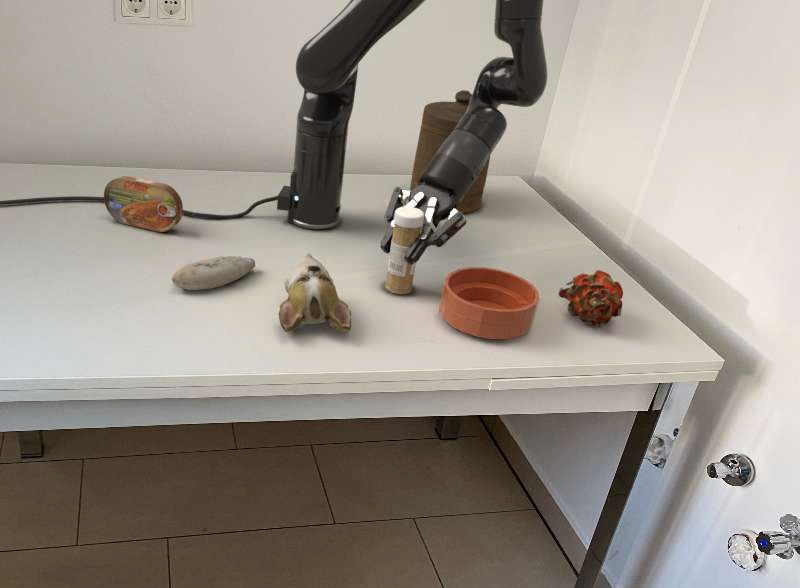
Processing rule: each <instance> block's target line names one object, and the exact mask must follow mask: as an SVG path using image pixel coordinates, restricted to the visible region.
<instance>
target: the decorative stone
mask: <svg viewBox="0 0 800 588" xmlns="http://www.w3.org/2000/svg"><path fill="white" fill-rule="evenodd" d="M255 268H256V261H255V260H254V258H251V257H243V256H237V255H227V256H226V255H225V256H224V255H223V256H218V257H217V256H216V257H210V258H205V259H202V260H197V261H194V262H190V263H187V264H184V265H182V266H180V267H179V268H177V270H176V271H175V272H174V273H173V274H172V276H171V282H172V283H173V284H174V285H175V286H176V287H178V288H181V289H183V290H189V291H203V290H210V289H215V288H219V287H221V286H225V285H228V284H230V283H232V282H234V281H236V280H239V279H241V278H242V277H244V276H246V275H247V274H249V272H250V271H253V270H254V269H255Z"/></svg>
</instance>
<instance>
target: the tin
mask: <svg viewBox="0 0 800 588" xmlns="http://www.w3.org/2000/svg"><path fill="white" fill-rule="evenodd" d="M103 197H104V201H103V203H104V206H105V208H106V210H107V212H108V214H109V216H111V217H112V219H114V220H115V221H117V222H118V223H120V224H122V225H126V226H132V227H136V228H140V229H145V230H149V231H153V232H158V233H166V232H168V231H170V230H171V229H173V228H174V227H175V226H177V225H178V224H179V223H180V222H181V220H182V218H183V215H184V214H183V210H184V208H183V206H184V205H183V200H182V198H181V196H180V195H179V193H178V192H177V190H176V189H175V188H174V187H172V186H171V185H170V184H167V183H163V182H158V181H153V180H149V179H145V178H144V179H143V178H139V177H135V176H130V175H129V176H128V175H123V176H120V177H118V178H117V177H116V178H113V179H112V180H110V181H109V182H107V184H106V186H105V187H104V190H103Z"/></svg>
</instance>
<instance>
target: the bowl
mask: <svg viewBox="0 0 800 588" xmlns="http://www.w3.org/2000/svg"><path fill="white" fill-rule="evenodd" d="M539 302H540V292H539V290H538V289H537V288H536V286H534V284H533V283H531V282H529V281H528V280H527V279H525V278H524V277H522V276H519V275H517V274H515V273H512V272H510V271H505V270H502V269H498V268H491V267H484V266H470V267H461V268H458V269H456V270H453V271H451V272H449V273H448V274H447V275H446V276H445V277H444V281H443V286H442V290H441V295H440V301H439V307H438V312H439V314H440V316H441V317H442V319H443V320H444V321H445V322H446V323H447V324H449V325H450V327H453V328H455V329H457V330H459V331H461V332H462V333H464V334H468V335H471V336H474V337H479V338H483V339H484V338H485V339H491V340H509V339H515V338H518V337H519V338H520V337H521V336H523V335H525V334H527V333H529V331H530V330H531V328H532V327H533V325H534V322H535V321H534V320H535V318H536V313H537V310H538V306H539Z"/></svg>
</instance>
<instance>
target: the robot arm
mask: <svg viewBox="0 0 800 588" xmlns="http://www.w3.org/2000/svg"><path fill="white" fill-rule="evenodd" d="M425 2H427V0H349V2H348V3H347V5H346V6H344V7H343V9H342V10H341V11H340V12H339V13H338V14H337V15H336V16H335V17H334V18H333V19H331V21H329V23H327V25H325V26H324V27H323V28H322V29H321V30H320V31H318V32H317V33H316V34H315V35H314V36H313V37H312V38H310V39H309V40H308V41H306V42H305V43H304V44H303V46H302V47H301V48H300V50H299V52H298V54H297V58H296V61H295V75H296V79H297V81H298V83H299V85H300V86H301V88H302V89H303V95H302V100H301V103H300V106H299V109H298V112H297V115H296V126H295V127H296V130H295V143H294V157H293V169H292V171H291V173H290V182H289V185H283V186H282V188H281V189H280V191H279V193H278V195H276V196H271V197H266V198H262V199H260V200H258V201H255V202H254V203H252V204H251V205H250V206H249V207H248V208H247V209H246V210H245V211H243V212H239V213H236V214H228V215H227V214H226V215H225V214H213V213H203V212H195V211H189V210H187V209H186V210H185V209H183V214H182V215H187V216H190V217H191V216H192V217H196V218H207V219H215V220H217V219H218V220H233V219H240V218H242V217H245V216H248V215H249V214H250V213H251V212H252V211H253V210H254V209H255V208H257V207H258V206H261V205H263V204H267V203H271V202H275V201H276V203H277V204H276V210H278V211H286V212H287V223H289V224H294V225H296V226H297V227H299V228H300V227H301V228H304V229H309V230H329V229H332V228H335V227H336V226H338V225H339V223H340V214H341V213H340V212H341V209H342V205H343V203H342V202H341V201H342V192H343V184H344V183H343V182H344V173H345V163H346V154H347V145H348V134H349V125H350V121H351V117H352V113H353V110H354V105H355V104H354V103H355V96H356V88H357V82H358V81H357V80H358V72H359V63H360V62H361V61H362V60H363V58H364V57H365V56H366V55H367V54H368V52H369V51H371V49H372V48H373V47H374V46H375V45H376V44H377V43H378V42H379V41H380V40H381V39H382V38H383V37H384V36H385V35H387V34H388V33H389V32H390V31H392V30H393V29H394V28H396V27H397V26H399V25H400V24H401V23H402V22H404V21H405V19H407V18H408V17H409V16H411V14H413V13H414V12H415V11H416V10H418V8H420V7H421V5H423V4H424V3H425ZM543 9H544V0H495V9H494V21H493V33H494V36H495V38H496V39H497V40H499V41H501V42H504V43H506V44H508V45H509V47H510V49H511V53H512V57H510V56H498V57H495V58H493V59H492V60H490V61H489V62H487V63H486V64H485V66H484V67H483V68H482V69H481V70H480V72H479V74H478V77H477V80H476V82H475V85H474V88H473V91H472V93H471V94H472V96H471V99H470V102H469V106H468V108H467V111H466V113H465V114H464V116H463V117H462V118H461V120H460V121H459V123H458V124H457V126H456V127H455V129H454V130H453V132H452V133H451V134H450V135H449V137H448V138H447V139H446V140H445V141H444V143H443V144H442V145H441V147H440V148H439V150H438V151H437V153H436V154H435V156H434V157H433V159H432V160H431V162H430V163H429V165H428V166H427V168H426V169H425V171H424V172H423V174H422V175H421V178H420V181H419V183H418V184H417V185H416V186H415V187H414V188H412V189H411V191H410V190H405V189H402V188H401V187H400V186H396V187H394V188H393V191H392V194H391V197H390V200H389V202H388V206H387V208H386V211H385V214H384V219H385V220H386V222H387V223H388V224H389V228H388V230H387V232H386V233H385V234H384V236H383V237H382V239H381V240H380V249H381V250H382V251H383V253H385V254H390V248H391V241H392V237H393V230H394V215H395V211H396V209H398V208H400V207H413V208H417V209H420V210H421V211H423V212H424V222H423V225H422V228H421V231H420V238H419V239H418V238H416V240H415V241H414V243H413V244H412V246H411V247H410V249H409V250H408V252H407V253H406V255H405V257H404V259H405V260H406V262H407V263H409V264H411V265H412V264H413V263H414V262H415V263H416V264H417V262H418V261H419V260H420V259H421V257H422V256H423V255H424V253H425V251H426V249H428V247H431V246H434V247H436V248H441V247H442V246H444V245H445V244H446V243H447V242H448V241H449V240H450V239H452V238H453V237H454V236H455V235H456V234H457V233H458V232H459V231H460V230H462V228H464V227H465V226H466V225H467V220H466V217H465V215H464V213H462V212H460V211H457V204H458V203H460V202H461V201H462V199H463V198H464V196H465V195H466V193H467V192H468V190H469V189H470V187H471V186H472V184H473V183H474V181H475V180H476V178H477V177H478V176H479V174H480V172H481V171H482V169H483V168H484V166H485V164H486V162H487V160H488V158H489V156H490V157H491V155H492V153H493V152H494V150H495V148H496V147H497V145H498V144H499V143H500V141H501V139H503V136H504V135H505V133H506V131H507V127H508V120H507V118H506V116H505V115H504V114H503V113H502V112H501V111H500V110H499V109H498V108H499V107H500V106H501V105H507V106H513V107H519V108H520V107H521V108H529V107H532V106H534V105H536V104H537V103H538V102H539V101H540V99H541V98H542V96H543V95H544V93H545V90H546V87H547V83H548V64H547V58H546V51H545V46H544V37H543V32H542V21H543V18H542V17H543ZM490 154H491V155H490ZM61 201H62V202H64V201H93V202H94V201H95V202H104V196H85V195H83V196H82V195H81V196H80V195H79V196H78V195H75V196H73V195H72V196H70V195H69V196H47V197H45V196H44V197H32V198H19V199H8V200H7V199H6V200H0V206H5V205H17V204H28V203H29V204H30V203H41V202H61ZM407 202H408V203H407ZM446 219H447V220H446ZM444 220H446V221H445V222H444V223H443V224H442V225H441V222H442V221H444Z"/></svg>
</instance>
